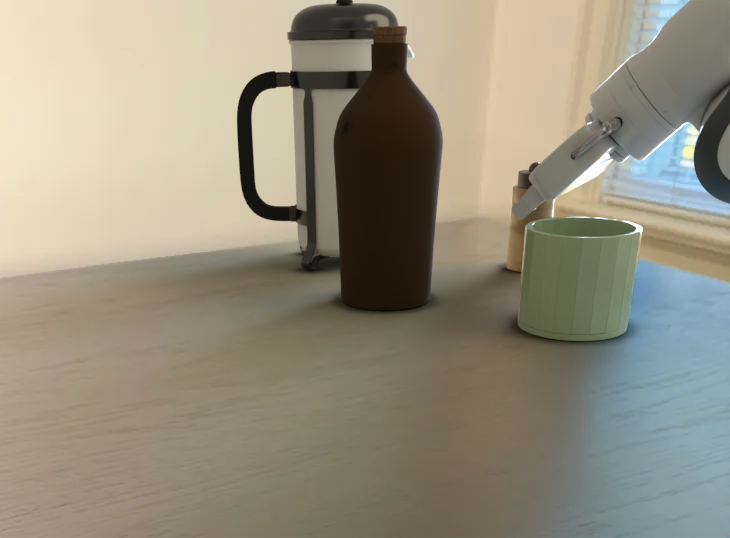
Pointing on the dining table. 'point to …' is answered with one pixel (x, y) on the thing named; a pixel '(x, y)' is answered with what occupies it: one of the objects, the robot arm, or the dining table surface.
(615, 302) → the cup
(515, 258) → the pepper mill
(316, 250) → the coffee press
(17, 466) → the dining table surface
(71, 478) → the dining table surface
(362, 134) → the olive oil
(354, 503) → the dining table surface
